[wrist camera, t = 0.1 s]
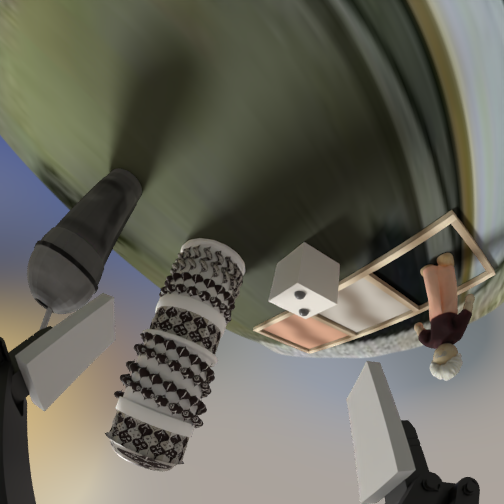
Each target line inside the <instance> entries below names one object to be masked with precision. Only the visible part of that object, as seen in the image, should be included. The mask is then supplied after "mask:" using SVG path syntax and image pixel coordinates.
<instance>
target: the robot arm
mask: <svg viewBox="0 0 504 504" xmlns="http://www.w3.org/2000/svg"><path fill="white" fill-rule="evenodd" d="M115 340H116V336H115V317H114V297H112V296H109V295H107V294H104V293H102V294H101V295H99V296H98V297H96V298H95V299H93V300H92V301H90V302H89V303H88V304H86V305H84V306H83V307H82V308H80V309H79V310H77V311H76V312H75V313H73V314H71V315H70V316H69V317H67V318H66V319H65V320H63V321H62V322H60V323H59V324H57V325H56V326H55V327H51V326H49V327H46V328H43V329H41V330H39V331H38V332H36V333H35V334H34V336H31V337H30V338H28V340H25V341H24V342H22V343H21V344H20V345H18V346H17V347H16V348H14V349H13V350H12V351H10V352H9V353H8V351H7V347H6V344H5V341H4V340H3V338H1V337H0V504H36V502H35V497H34V491H33V486H32V479H31V472H30V463H29V453H28V438H27V400H26V397H27V396H28V395H30V397H31V399H32V402H33V403H34V404H35V405H37V406H38V407H39V408H41V409H42V410H43V411H46V409H47V408H48V407H49V406H50V405H51V404H52V403H53V402H54V401H55V400H56V399H57V398H58V397H59V396H60V395H61V394H62V393H63V392H64V391H65V390H66V389H67V388H68V387H69V386H70V385H71V383H73V381H75V380H76V378H77V377H78V376H79V375H80V374H81V373H82V372H83V371H84V370H85V369H86V368H87V367H88V366H89V365H90V364H91V363H92V362H93V361H94V360H95V359H96V358H97V357H98V356H99V355H100V354H101V353H102V352H103V351H104V350H105V349H106V348H107V347H108V346H109V345H111V344H112V343H113V341H115ZM346 401H347V406H348V412H349V419H350V424H351V432H352V438H353V446H354V453H355V460H356V468H357V478H358V486H359V497H360V504H369V503H377V502H379V501H380V500H381V499H382V498H384V497H385V502H386V503H385V504H479V494H480V489H479V485H478V483H477V481H476V480H475V479H473V478H471V477H465V478H463V479H461V480H460V481H459V482H458V483H456V484H454V483H446V482H442V480H441V479H440V477H439V476H438V475H436V474H435V473H432V472H429V470H428V467H427V463H426V460H425V457H424V454H423V451H422V448H421V446H420V442H419V439H418V436H417V433H416V430H415V428H414V427H413V426H412V424H411V423H410V422H409V421H408V420H405V421H403V420H401V419H400V417H399V414H398V411H397V408H396V405H395V402H394V399H393V396H392V394H391V391H390V388H389V385H388V383H387V380H386V377H385V375H384V372H383V369H382V367H381V364H380V363H378V362H370V361H367V362H366V363H365V365H364V367H363V370H362V371H361V374H360V375H359V377H358V379H357V381H356V383H355V385H354V387H353V388H352V390H351V392H350V394H349V396H348V397H347V399H346Z"/></svg>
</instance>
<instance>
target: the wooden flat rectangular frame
mask: <svg viewBox="0 0 504 504" xmlns="http://www.w3.org/2000/svg"><path fill="white" fill-rule="evenodd" d="M449 224H452V226H453V227H454V228H455V229H456V230H457V232H458V233H459V234H460V236H461V237H462V238H463V239H464V241H465V242H466V243H467V245H468V246H469V247H470V249H471V250H472V251H473V253H474V254H475V255H476V257H477V258H478V260H479V261H480V263H481V264H482V265H483V267H484V268H485V270H486V271H485V272H484V273H482V274H480V275H479V276H477V277H475V278H473V279H471V280H470V281H468V282H466V283H464V284H462V285H460V286H458V287H457V295H459V294H461V293H463V292H465V291H466V290H468V289H470V288H472V287H474V286H476V285H478V284H479V283H481V282H483V281H485V280H487V279H488V278H490V277H492V276H494V275H495V271H494V269H493V267H492V266H491V264H490V262H489V261H488V259H487V258H486V256H485V255H484V253H483V252H482V250H481V249H480V247H479V246H478V244H477V243H476V241H475V240H474V239H473V237H472V236H471V234H470V233H469V232H468V230H467V229H466V228H465V226H464V225H463V224H462V222H461V221H460V220H459V218H458V217H457V216H456V214H455V213H454V212H453V211H452V210H451V211H449V212H448V213H446V214H445V215H443V216H442V217H441V218H439V219H438V220H436V221H435V222H433V223H432V224H430V225H429V226H427V227H426V228H425V229H423V230H422V231H420V232H419V233H417V234H415V235H414V236H412V237H411V238H409V239H408V240H406V241H405V242H403V243H402V244H400V245H399V246H397V247H395V248H394V249H392V250H391V251H389V252H387V253H386V254H384V255H383V256H381V257H379V258H378V259H376V260H375V261H373V262H371V263H370V264H368V265H366V266H365V267H363V268H361V269H360V270H358V271H356V272H355V273H353V274H351V275H349V276H348V277H346V278H344V279H343V280H341V281H339V287H338V300H337V305H335V306H333V307H331V308H329V309H326V310H324V311H322V312H320V313H318V314H316V315H314V316H312V317H309V318H307V319H304V318H302V317H300V316H298V315H296V314H294V313H292V312H289V311H287V310H286V311H284V312H283V313H281V314H279V315H277V316H275V317H273V318H271V319H269V320H267V321H265V322H263V323H261V324H259V325H257V326H255V327H254V328H253V331H256V332H258V333H260V334H263V335H265V336H267V337H270V338H272V339H274V340H277V341H279V342H281V343H284V344H286V345H289V346H291V347H294V348H296V349H299V350H301V351H304V352H306V353H309V354H310V353H314V352H317V351H320V350H323V349H326V348H330V347H333V346H336V345H339V344H342V343H345V342H348V341H350V340H353V339H356V338H359V337H362V336H364V335H367V334H370V333H372V332H375V331H378V330H380V329H383V328H385V327H388V326H390V325H393V324H395V323H398V322H400V321H403V320H405V319H407V318H410V317H412V316H414V315H417V314H419V313H421V312H423V311H426V310H428V309H429V302H427V303H425V304H422V305H420V306H418V305H416V304H415V303H414V302H412V301H411V300H409V299H408V298H407V297H405V296H404V295H403V294H401V293H400V292H398V291H397V290H396V289H394V288H393V287H391V286H390V285H388V284H387V283H386V282H384V281H383V280H381V279H380V278H378V277H377V276H376V275H374V274H373V273H372V272H374V271H376V270H378V269H379V268H381V267H383V266H384V265H386V264H388V263H389V262H391V261H393V260H394V259H396V258H398V257H399V256H401V255H403V254H404V253H406V252H408V251H409V250H411V249H412V248H414V247H416V246H417V245H419V244H420V243H422V242H424V241H425V240H427V239H428V238H430V237H431V236H433V235H434V234H436V233H437V232H439V231H440V230H442V229H443V228H445V227H446V226H448V225H449ZM344 326H345V327H344Z"/></svg>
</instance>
